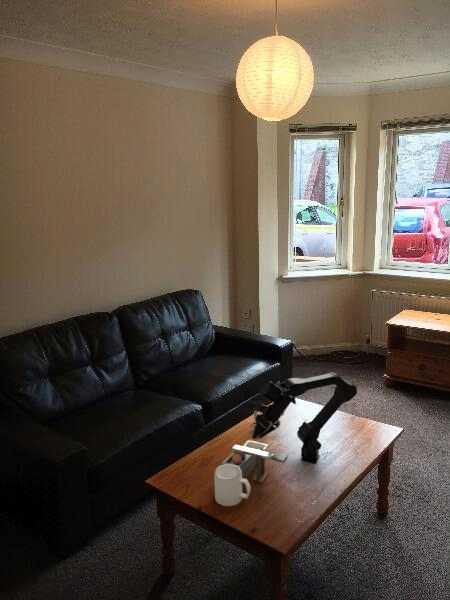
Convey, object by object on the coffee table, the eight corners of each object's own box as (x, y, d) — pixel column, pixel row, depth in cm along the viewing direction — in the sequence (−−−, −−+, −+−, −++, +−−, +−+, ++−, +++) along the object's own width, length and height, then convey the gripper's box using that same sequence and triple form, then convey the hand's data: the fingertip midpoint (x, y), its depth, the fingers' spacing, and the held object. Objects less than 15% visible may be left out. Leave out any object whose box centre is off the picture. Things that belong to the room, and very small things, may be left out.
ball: (243, 463, 190) (243, 453, 190) (239, 466, 187) (239, 457, 186) (234, 460, 192) (234, 451, 192) (230, 464, 188) (230, 454, 188)
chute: (257, 462, 200) (257, 444, 198) (239, 486, 184) (239, 467, 182) (241, 458, 203) (241, 440, 201) (222, 481, 187) (221, 463, 185)
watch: (264, 435, 221) (264, 413, 219) (251, 430, 227) (251, 408, 224) (272, 431, 225) (271, 409, 223) (258, 425, 231) (258, 404, 228)
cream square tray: (268, 451, 207) (268, 444, 207) (259, 463, 199) (259, 455, 198) (248, 447, 212) (248, 440, 211) (239, 458, 203) (239, 450, 203)
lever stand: (268, 474, 191) (268, 449, 188) (262, 483, 185) (261, 457, 183) (259, 472, 193) (258, 447, 190) (252, 480, 187) (252, 455, 185)
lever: (287, 467, 185) (287, 454, 184) (283, 474, 181) (283, 460, 180) (236, 455, 195) (236, 442, 194) (231, 461, 191) (231, 448, 189)
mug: (254, 493, 179) (254, 468, 177) (245, 510, 170) (245, 484, 167) (221, 486, 184) (220, 462, 182) (210, 502, 175) (209, 477, 172)
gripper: (269, 395, 204) (248, 425, 204) (257, 393, 187) (234, 425, 187) (289, 412, 199) (268, 442, 199) (279, 411, 182) (255, 444, 182)
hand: (256, 438), depth 192 cm, fingers open, 9 cm apart
